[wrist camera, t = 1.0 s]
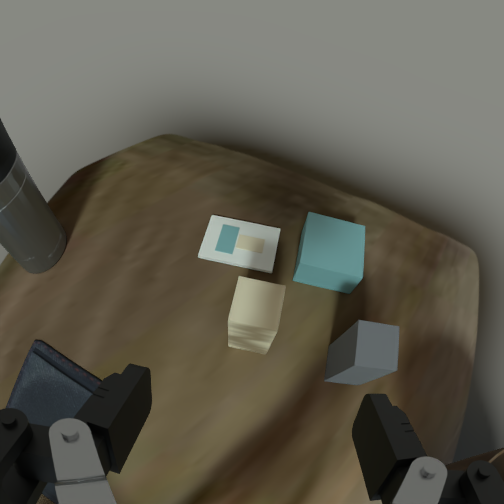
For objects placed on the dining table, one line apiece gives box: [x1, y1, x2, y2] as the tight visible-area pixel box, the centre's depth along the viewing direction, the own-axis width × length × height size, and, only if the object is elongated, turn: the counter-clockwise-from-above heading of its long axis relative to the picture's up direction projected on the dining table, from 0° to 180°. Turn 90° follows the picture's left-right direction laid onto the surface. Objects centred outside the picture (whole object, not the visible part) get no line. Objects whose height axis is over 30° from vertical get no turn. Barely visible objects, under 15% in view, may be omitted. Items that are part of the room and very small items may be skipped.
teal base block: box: [293, 212, 365, 294], centre depth 41 cm, size 8×8×5 cm
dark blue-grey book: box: [6, 340, 102, 504], centre depth 28 cm, size 20×2×15 cm
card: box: [198, 215, 280, 273], centre depth 43 cm, size 10×7×1 cm
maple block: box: [228, 276, 286, 354], centre depth 33 cm, size 4×4×10 cm
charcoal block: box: [324, 320, 399, 385], centre depth 31 cm, size 4×4×10 cm
